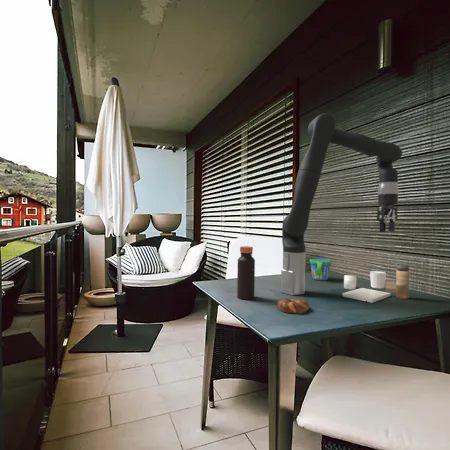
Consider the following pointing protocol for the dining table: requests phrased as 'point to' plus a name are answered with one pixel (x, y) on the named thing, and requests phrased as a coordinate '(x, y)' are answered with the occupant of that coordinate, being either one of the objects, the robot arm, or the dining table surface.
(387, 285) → the wooden block
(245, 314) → the dining table surface
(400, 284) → the pepper mill
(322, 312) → the dining table surface
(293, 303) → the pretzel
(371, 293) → the stone tile
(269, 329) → the dining table surface
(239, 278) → the bottle
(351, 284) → the white rounded cylinder
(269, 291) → the dining table surface
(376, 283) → the white tapered cylinder
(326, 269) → the snack cup
